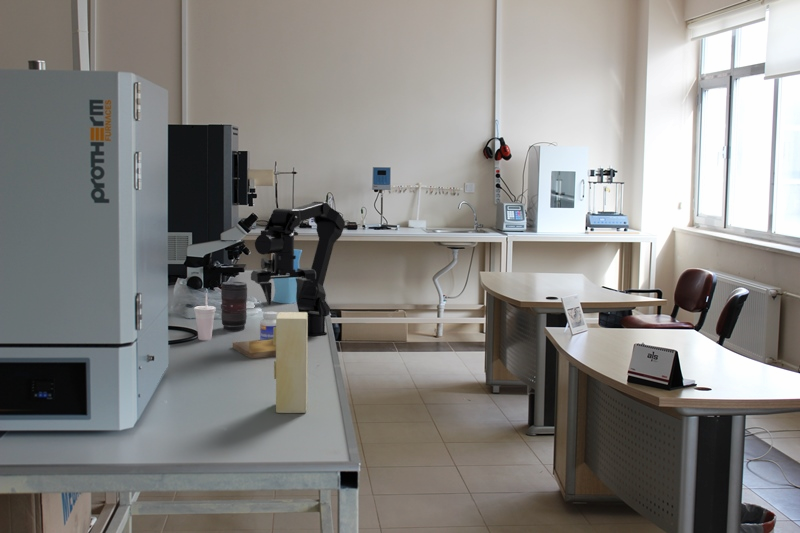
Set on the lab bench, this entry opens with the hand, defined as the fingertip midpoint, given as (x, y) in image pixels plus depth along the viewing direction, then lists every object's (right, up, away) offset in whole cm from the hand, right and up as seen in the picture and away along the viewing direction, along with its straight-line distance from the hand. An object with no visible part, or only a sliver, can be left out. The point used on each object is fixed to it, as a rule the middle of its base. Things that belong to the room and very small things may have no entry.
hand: (283, 303), depth 236 cm
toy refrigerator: (+10, -21, -60) cm, 64 cm away
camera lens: (-19, -9, +19) cm, 28 cm away
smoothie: (-24, -11, +4) cm, 27 cm away
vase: (-9, -3, +71) cm, 72 cm away
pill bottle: (-3, -12, -10) cm, 16 cm away
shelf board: (-4, -13, -8) cm, 16 cm away
